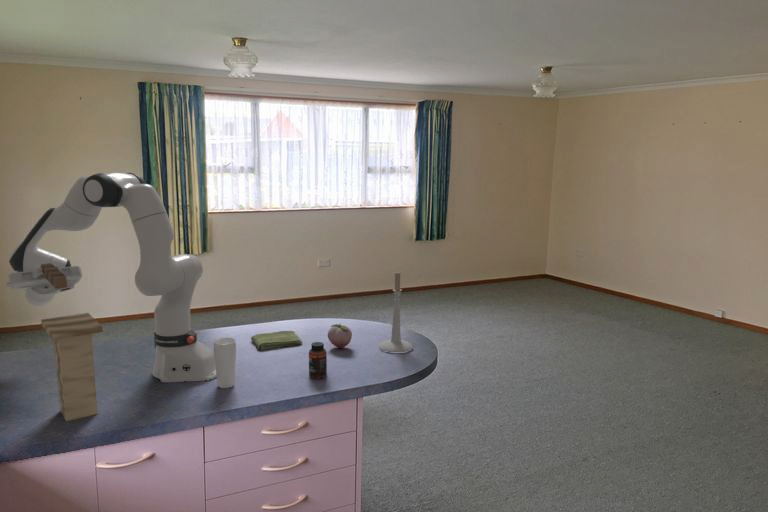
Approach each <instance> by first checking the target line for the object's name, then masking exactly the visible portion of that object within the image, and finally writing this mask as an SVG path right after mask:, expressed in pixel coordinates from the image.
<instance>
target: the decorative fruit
mask: <svg viewBox="0 0 768 512" xmlns="http://www.w3.org/2000/svg"><path fill="white" fill-rule="evenodd" d="M352 336H353V333H352V330H351V328H350V327H348V326H346V325H343V324H339V323H338V324H337V323H336V324H332V325H331V326H330V329H329V330H328V332H327V338H328V340H329V342H330V343H331V344H332V345H333V346H334V347H336V348H338V349H342V348H344V347H347V346H348V345H349V344H350V343H351V340H352V338H353V337H352Z"/></svg>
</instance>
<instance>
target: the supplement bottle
mask: <svg viewBox="0 0 768 512" xmlns="http://www.w3.org/2000/svg"><path fill="white" fill-rule="evenodd" d="M327 360H328V359H327V350H326V348H325V347H324V342H321V341H314V342H312V343H311V349H309V351H308V376H309V377H310V378H312V379H315V378H317V380H318V378H320V379H324V378H325V377H327V375H328V374H327V373H328V371H327V369H328V364H327V362H328V361H327ZM323 377H324V378H323Z"/></svg>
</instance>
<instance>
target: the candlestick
mask: <svg viewBox="0 0 768 512" xmlns="http://www.w3.org/2000/svg"><path fill="white" fill-rule="evenodd" d="M392 291H393V295H394V299H393V313H392V314H393V315H392V325H391V337H390V339H387V340H384V341H382V342H380V343H379V345H378V349H379V348H380V349H382V350H384V351H388V352H405V351H409V350H411V349H412V350H413V345H412V343H410V342H408V341H406V340H403V339H401V306H400V305H401V301H400V300H401V299H400V296H401V293H402V291H403V289H401V272H400V271H395V272H394V288H393V289H392ZM380 349H379V350H380ZM412 350H411V351H412Z"/></svg>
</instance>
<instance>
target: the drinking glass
mask: <svg viewBox="0 0 768 512" xmlns="http://www.w3.org/2000/svg"><path fill="white" fill-rule="evenodd" d="M236 342H237V341H236V339H235V338H233V337H219V338H217V339H214V341H213V352H214V360H215V367H216V375H217V377H216V386H217V387H218V388H219V387H220V389H230V388H232V387H234V386H235V377H236V376H235V375H236V373H235V372H236V357H237V354H236V353H237V343H236ZM233 385H234V386H233ZM229 387H230V388H229Z"/></svg>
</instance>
